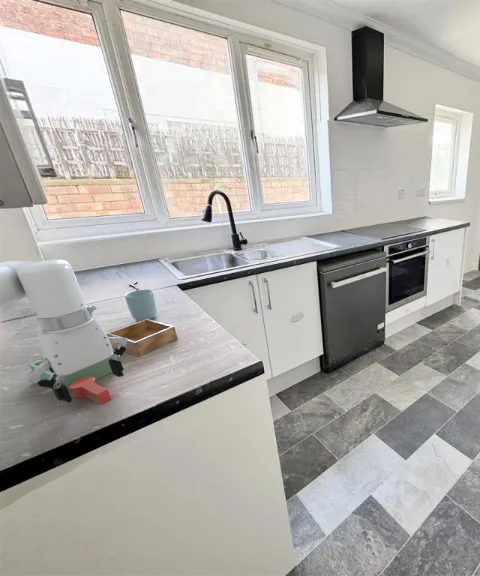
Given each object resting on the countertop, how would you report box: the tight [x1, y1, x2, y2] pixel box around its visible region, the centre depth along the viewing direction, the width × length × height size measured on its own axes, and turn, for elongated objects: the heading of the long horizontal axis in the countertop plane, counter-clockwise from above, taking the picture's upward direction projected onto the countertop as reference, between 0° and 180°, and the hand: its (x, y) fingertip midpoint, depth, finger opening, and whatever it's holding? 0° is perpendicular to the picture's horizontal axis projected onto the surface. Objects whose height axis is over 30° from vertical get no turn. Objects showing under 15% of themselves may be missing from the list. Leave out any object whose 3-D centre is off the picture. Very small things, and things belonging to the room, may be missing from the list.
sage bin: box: [29, 358, 113, 393], centre depth 79 cm, size 11×14×4 cm
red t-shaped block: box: [69, 377, 112, 406], centre depth 71 cm, size 11×4×3 cm, turn 65°
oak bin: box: [106, 319, 179, 358], centre depth 94 cm, size 11×14×4 cm
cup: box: [124, 289, 158, 322], centre depth 110 cm, size 8×8×10 cm
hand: (94, 387), depth 70 cm, fingers open, 9 cm apart
